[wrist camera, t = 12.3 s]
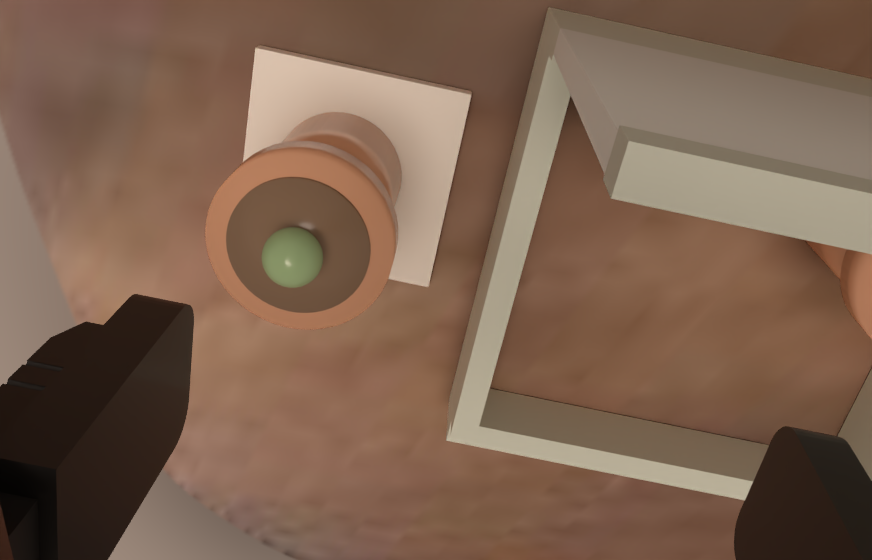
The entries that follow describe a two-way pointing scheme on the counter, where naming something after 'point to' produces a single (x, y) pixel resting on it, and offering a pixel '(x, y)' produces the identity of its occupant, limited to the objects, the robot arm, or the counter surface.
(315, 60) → the tile
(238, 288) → the clay pot
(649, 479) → the cold frame
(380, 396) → the counter surface
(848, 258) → the clay pot
